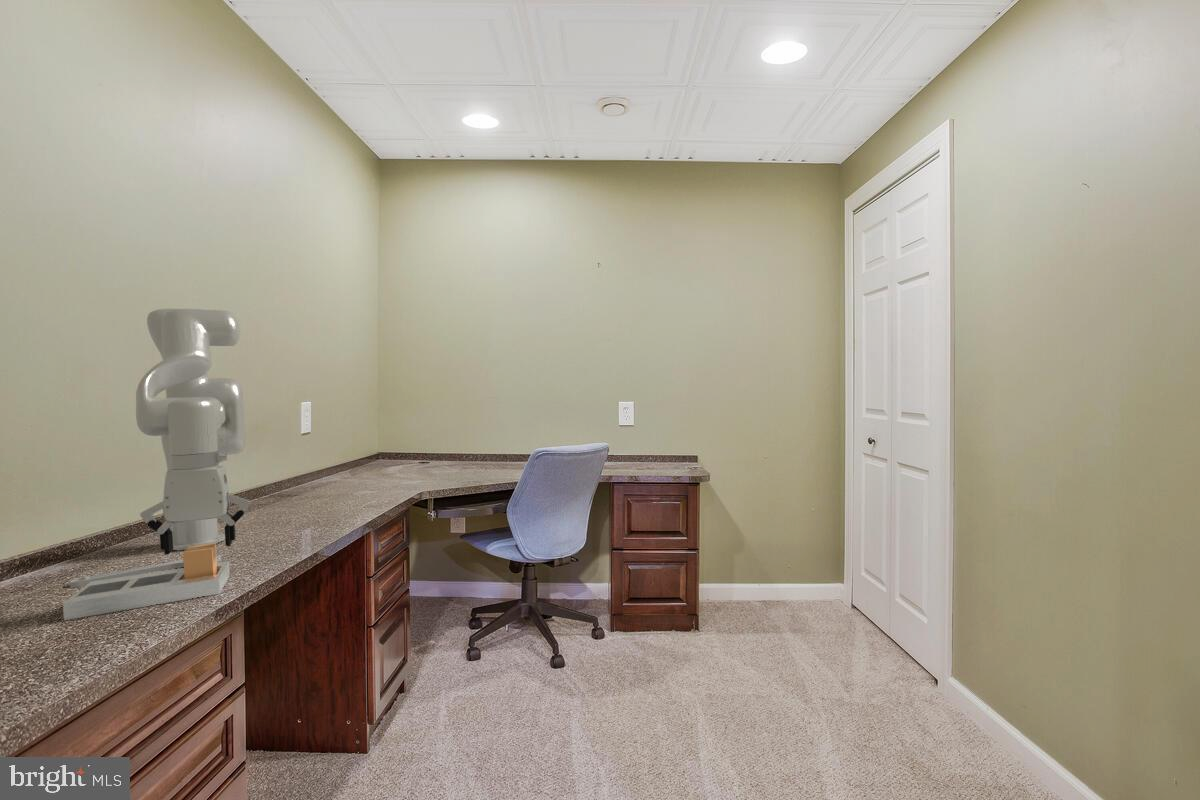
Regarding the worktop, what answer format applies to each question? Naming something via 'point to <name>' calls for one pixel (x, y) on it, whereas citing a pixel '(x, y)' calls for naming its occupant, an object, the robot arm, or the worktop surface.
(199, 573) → the rectangular block
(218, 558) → the grey slotted rack
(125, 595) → the grey compartment tray
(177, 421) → the robot arm
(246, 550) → the worktop surface
